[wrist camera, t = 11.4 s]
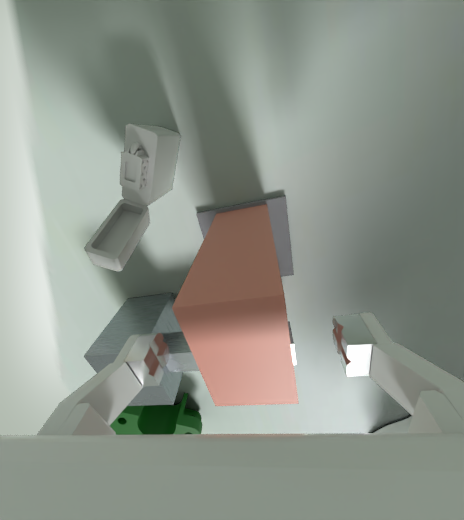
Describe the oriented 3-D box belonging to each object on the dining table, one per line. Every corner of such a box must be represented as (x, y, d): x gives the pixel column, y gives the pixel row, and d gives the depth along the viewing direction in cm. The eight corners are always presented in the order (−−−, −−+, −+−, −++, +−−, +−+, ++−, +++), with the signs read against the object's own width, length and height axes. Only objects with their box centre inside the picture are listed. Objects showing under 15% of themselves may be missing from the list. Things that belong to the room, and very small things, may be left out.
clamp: (199, 370, 36) (216, 427, 28) (191, 399, 37) (205, 460, 29) (115, 378, 31) (107, 450, 23) (110, 410, 32) (101, 488, 24)
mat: (284, 195, 17) (285, 196, 16) (292, 272, 20) (293, 274, 20) (197, 212, 18) (196, 214, 18) (218, 282, 21) (217, 284, 21)
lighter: (156, 125, 15) (76, 117, 8) (181, 133, 15) (121, 133, 8) (146, 219, 19) (83, 268, 12) (166, 225, 19) (115, 278, 12)
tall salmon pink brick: (266, 204, 17) (284, 294, 7) (277, 274, 20) (298, 403, 10) (216, 213, 18) (171, 307, 8) (233, 279, 21) (215, 406, 11)
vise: (282, 278, 20) (294, 339, 14) (289, 332, 24) (301, 400, 18) (127, 298, 23) (83, 356, 17) (153, 344, 27) (123, 406, 20)
